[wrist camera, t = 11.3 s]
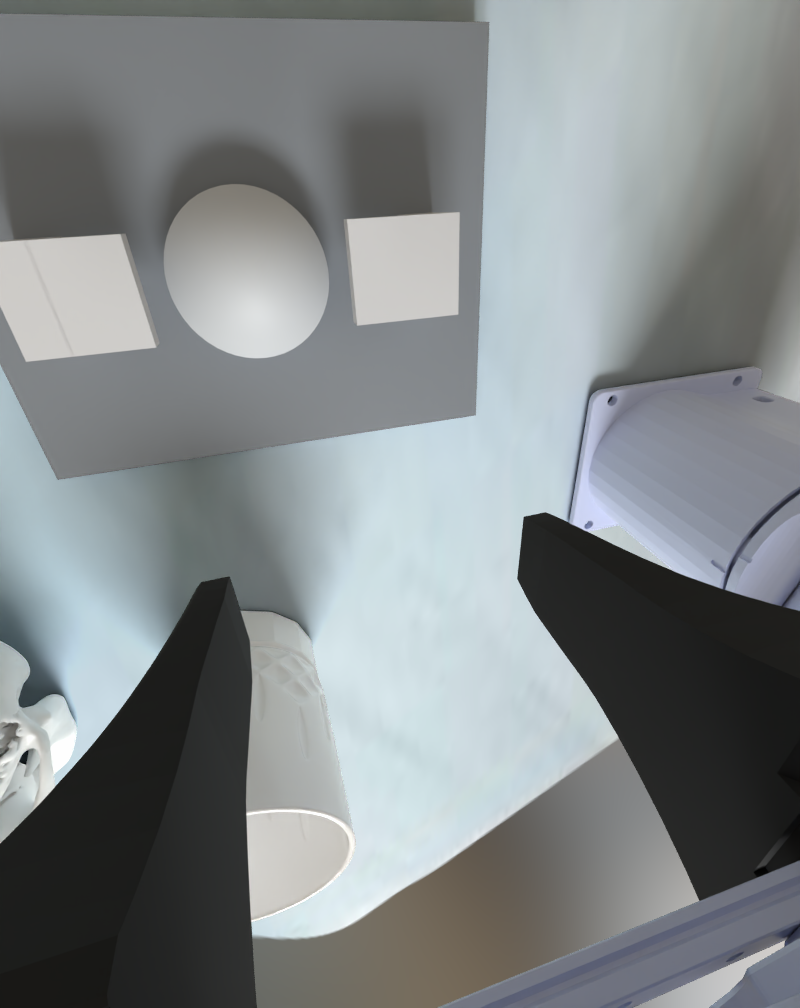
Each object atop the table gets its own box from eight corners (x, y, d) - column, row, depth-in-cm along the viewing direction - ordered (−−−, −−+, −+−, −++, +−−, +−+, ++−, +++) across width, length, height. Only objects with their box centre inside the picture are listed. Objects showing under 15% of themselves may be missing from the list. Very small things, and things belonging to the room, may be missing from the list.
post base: (475, 33, 15) (531, -13, 12) (466, 407, 21) (501, 438, 18) (-145, 25, 11) (-280, -40, 9) (66, 467, 18) (31, 516, 15)
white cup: (245, 725, 28) (243, 943, 19) (127, 666, 23) (59, 914, 15) (351, 648, 27) (396, 842, 18) (249, 572, 22) (248, 781, 14)
